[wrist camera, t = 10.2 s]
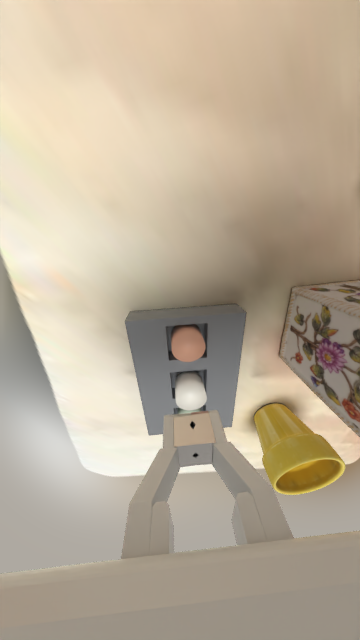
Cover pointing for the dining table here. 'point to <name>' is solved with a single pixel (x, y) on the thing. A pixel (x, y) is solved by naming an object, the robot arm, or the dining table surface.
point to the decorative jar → (327, 345)
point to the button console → (162, 367)
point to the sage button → (187, 411)
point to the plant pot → (294, 452)
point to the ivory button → (190, 391)
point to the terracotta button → (187, 342)
